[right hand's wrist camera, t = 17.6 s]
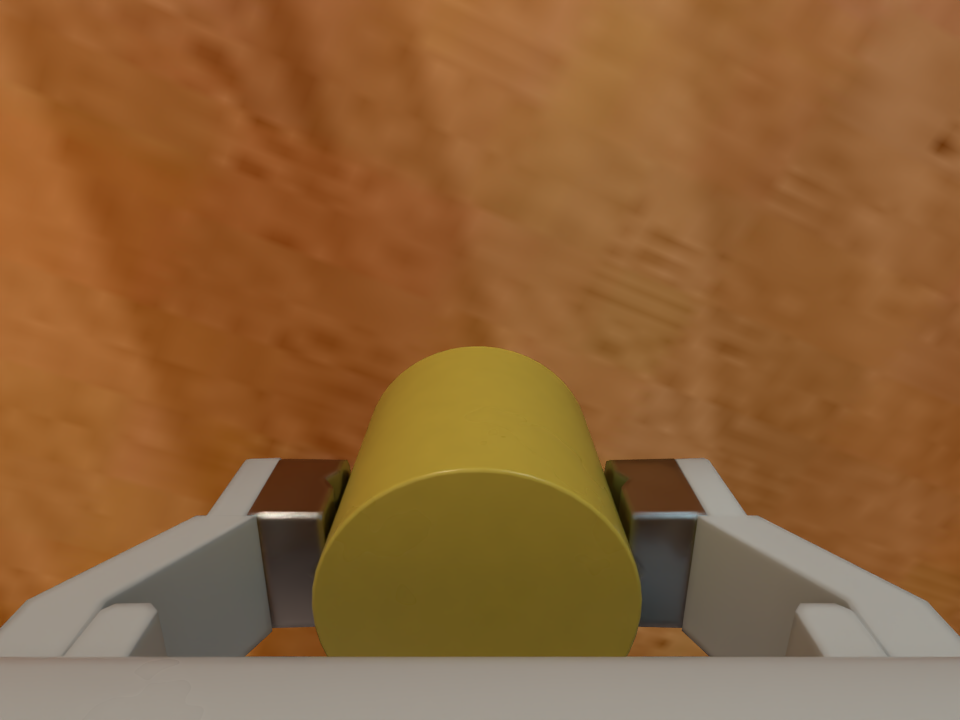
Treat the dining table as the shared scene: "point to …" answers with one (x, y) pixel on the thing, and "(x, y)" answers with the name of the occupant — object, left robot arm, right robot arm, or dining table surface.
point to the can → (477, 523)
